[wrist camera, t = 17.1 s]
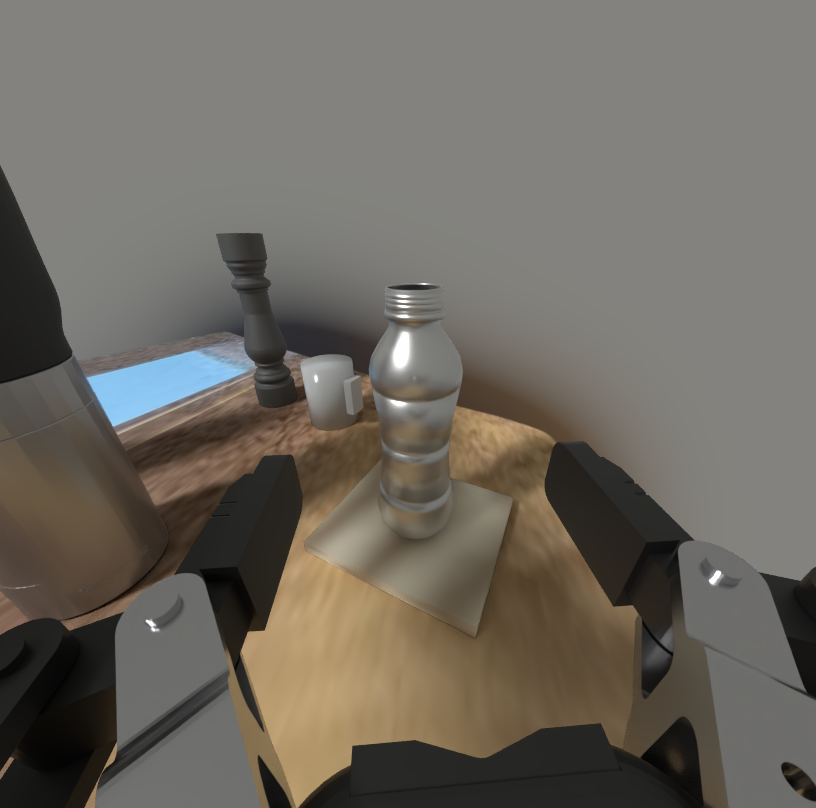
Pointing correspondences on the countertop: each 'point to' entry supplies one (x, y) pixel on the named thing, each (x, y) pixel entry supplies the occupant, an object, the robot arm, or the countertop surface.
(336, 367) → the grey mug
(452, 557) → the plain beige board
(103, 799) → the robot arm
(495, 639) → the countertop surface
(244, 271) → the candle holder
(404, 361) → the plastic bottle
